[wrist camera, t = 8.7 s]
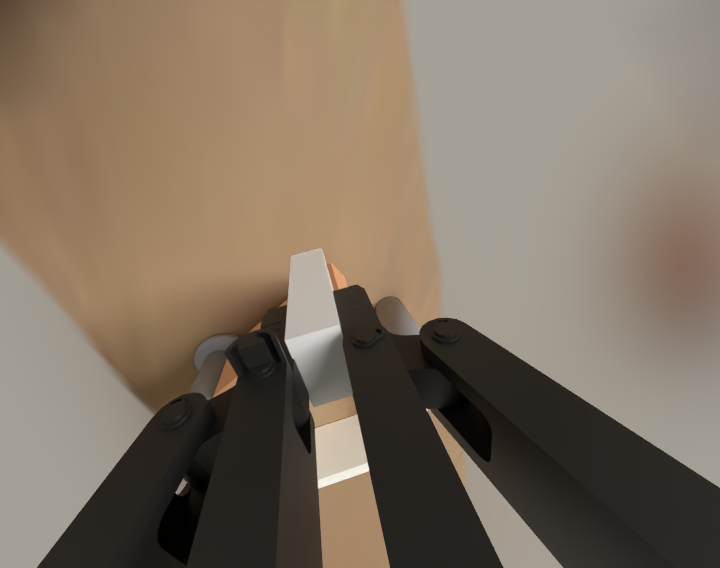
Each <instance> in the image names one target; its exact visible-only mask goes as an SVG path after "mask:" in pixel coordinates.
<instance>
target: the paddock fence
mask: <svg viewBox="0 0 720 568" xmlns="http://www.w3.org/2000/svg"><path fill="white" fill-rule="evenodd" d="M376 315H377V317H378V319H379V321H380V323H381V325H382V326H383V327H385V328H386V329H387V331H388V332H390V333H393V334H397V335H419V331H420V328H419V326H418V325H417V323H416V322H415V321H414V319H413V318H412V316H411V315H410V313H409V312H408V311H407V309H406V308H405V306H404V305H403V304H402V302H401V301H400V300H399V299H398V298H396V297H393V296H390V297H386V298H383V299H382V300H381V301H380V302H379V303H378V304H377V306H376ZM238 338H239V336H236V335H232V334H217V335H214V336H211V337H209V338H207V339H205V340H204V341H203V342H202V343H201V344H200V345H199V347H198V349H197V351H196V352H195V355H194V364H195V367H196V369H197V370H198V372H199V370H200V368H201V366H202V364H203V362H204V360H205V358H206V357H207V356H208V355H209V354H210V353H212V352H214V351H218V350H227V348H228V346H229V345H231V344H232V343H233V342H234V341H235V340H236V339H238ZM426 410H427V409H426ZM427 412H428V410H427ZM315 443H316V461H317V478H318V488H321V487H324V486H327V485H330V484H333V483H336V482H339V481H342V480H344V479H347V478H350V477H353V476H356V475H359V474H362V473H365V472H368V471H369V466H368V462H367V457H366V452H365V448H364V443H363V438H362V434H361V429H360V425H359V420H358V415H354V416H351V417H348V418H345V419H342V420H339V421H335V422H332V423H329V424H326V425H323V426H320V427H317V428H315Z"/></svg>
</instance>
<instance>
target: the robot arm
mask: <svg viewBox="0 0 720 568" xmlns="http://www.w3.org/2000/svg"><path fill="white" fill-rule="evenodd" d="M224 354H225V356H226V357H227V359H228V361H229V362H230V364H231V366H232V368H233V369H234V371H235V373H236V374H237V376H238V378H237V381H236V385H235V386H233V387H232V388H230V389H228V390H227V391H225V392H223V393H221V394H219V395H217V396H215V397H214V398H212V399H210V400H207V399H206V397H205V396H204V395H202V394H201V393H195V392H192V393H188V394H185V395H182V396H180V397H178V398H176V399H174V400H172V401H171V402H169V403H168V404H167V405H165V406H164V407H163V408H161V409H160V410H159V411H158V412H157V413H156V415H155V416H154V417H153V418H152V419H151V420H150V422H149V423H148V424H147V425H146V427H145V428H144V429H143V431H142V432H141V433H140V434H139V436H138V437H137V438H136V440H135V441H134V442H133V444H132V445H131V446H130V447H129V449H128V450H127V451H126V453H125V454H124V455H123V457H122V458H121V459H120V460H119V462H118V463H117V464H116V466H115V467H114V468H113V470H112V471H111V472H110V473H109V475H108V476H107V477H106V479H105V480H104V481H103V483H102V484H101V485H100V487H99V488H98V489H97V490H96V492H95V493H94V494H93V496H92V497H91V498H90V500H89V501H88V502H87V503H86V505H85V506H84V507H83V508H82V510H81V511H80V512H79V514H78V515H77V516H76V518H75V519H74V520H73V522H72V523H71V524H70V525H69V527H68V528H67V529H66V531H65V532H64V533H63V534H62V536H61V537H60V538H59V540H58V541H57V542H56V544H55V545H54V546H53V547H52V549H51V550H50V551H49V553H48V554H47V555H46V557H45V558H44V559H43V560H42V562H41V563H40V564H39V566H38V567H37V568H323V565H322V548H321V530H320V513H319V495H318V478H317V461H316V443H315V426H314V420H313V417H312V415H311V412H310V410H309V398H310V401H311V403H312V405H313V407H315V406H319V405H322V404H325V403H328V402H331V401H335V400H338V399H341V398H344V397H347V396H351V395H353V397H354V401H355V406H356V411H357V415H358V420H359V425H360V429H361V434H362V438H363V443H364V448H365V452H366V457H367V462H368V466H369V471H370V476H371V480H372V485H373V490H374V494H375V499H376V503H377V508H378V513H379V517H380V522H381V527H382V531H383V536H384V541H385V545H386V550H387V555H388V559H389V564H390V568H503V566H502V564H501V562H500V560H499V558H498V556H497V554H496V552H495V549H494V547H493V546H492V544H491V541H490V539H489V537H488V535H487V533H486V531H485V529H484V527H483V525H482V523H481V521H480V519H479V517H478V515H477V512H476V510H475V509H474V506H473V504H472V502H471V500H470V498H469V496H468V494H467V492H466V490H465V488H464V486H463V484H462V482H461V480H460V478H459V475H458V473H457V471H456V469H455V467H454V465H453V463H452V461H451V459H450V457H449V455H448V453H447V451H446V449H445V447H444V445H443V443H442V440H441V438H440V436H439V434H438V432H437V430H436V428H435V426H434V424H433V422H432V420H431V418H430V416H429V414H428V412H427V410H426V409H430V410H431V411H432V413H433V414H434V415H435V416H436V417H437V419H438V420H439V421H440V422H441V423H442V425H443V426H444V427H445V428H446V429H447V430H448V432H449V433H450V434H451V435H452V436H453V438H454V439H455V440H456V441H457V442H458V443H459V445H460V446H461V447H462V448H463V449H464V451H465V452H466V453H467V454H468V455H469V456H470V458H471V459H472V460H473V461H474V462H475V464H477V466H478V467H479V468H480V469H481V471H482V472H483V473H484V474H485V475H486V477H487V478H488V479H489V480H490V481H491V482H492V484H493V485H494V486H495V487H496V488H497V490H498V491H499V492H500V493H501V494H502V495H503V497H504V498H505V499H506V500H507V501H508V503H509V504H510V505H511V506H512V507H513V508H514V509H515V510H516V512H517V513H518V514H519V515H520V517H521V518H522V519H523V520H524V521H525V523H526V524H527V525H528V526H529V527H530V529H531V530H532V531H533V532H534V533H535V534H536V536H537V537H538V538H539V539H540V540H541V542H542V543H543V544H544V545H545V546H546V547H547V549H548V550H549V551H550V552H551V553H552V555H553V556H554V557H555V558H556V559H557V560H558V562H559V563H560V564H561V565H562V566H563V568H720V488H719V487H718V486H716V485H714V484H713V483H711V482H710V481H708V480H707V479H705V478H704V477H702V476H700V475H699V474H697V473H696V472H694V471H693V470H691V469H690V468H688V467H686V466H685V465H684V464H682V463H680V462H679V461H677V460H676V459H674V458H673V457H671V456H670V455H668V454H667V453H665V452H663V451H662V450H660V449H659V448H657V447H656V446H654V445H653V444H651V443H650V442H648V441H646V440H645V439H643V438H642V437H640V436H639V435H637V434H636V433H634V432H633V431H631V430H630V429H628V428H626V427H625V426H623V425H622V424H620V423H619V422H617V421H616V420H614V419H613V418H611V417H609V416H608V415H606V414H605V413H603V412H602V411H600V410H599V409H597V408H596V407H594V406H592V405H591V404H589V403H588V402H586V401H584V400H583V399H581V398H580V397H578V396H577V395H575V394H574V393H572V392H571V391H569V390H568V389H566V388H565V387H563V386H562V385H560V384H558V383H557V382H555V381H554V380H552V379H551V378H549V377H548V376H546V375H545V374H543V373H541V372H540V371H538V370H537V369H535V368H534V367H532V366H531V365H529V364H528V363H526V362H524V361H523V360H521V359H520V358H518V357H517V356H515V355H514V354H512V353H510V352H509V351H508V350H506V349H504V348H503V347H501V346H500V345H498V344H497V343H495V342H494V341H492V340H491V339H489V338H487V337H486V336H484V335H483V334H481V333H479V332H478V331H476V330H475V329H473V328H472V327H470V326H469V325H467V324H466V323H464V322H462V321H459V320H457V319H452V318H437V319H434V320H431V321H429V322H427V323H426V324H424V325H423V326H422V328H421V329H420V331H419V335H397V334H393V333H390V332H388V331H387V329H386V328H385V327H383V326H382V325H381V323H380V321H379V319H378V317H377V315H376V312H375V310H374V308H373V306H372V304H371V302H370V300H369V298H368V295H367V293H366V291H365V289H364V288H362V287H360V286H358V285H353V286H350V287H346V288H342V289H339V290H335V291H334V289H333V286H332V282H331V279H330V275H329V272H328V268H327V265H326V261H325V258H324V254H323V251H322V248H319V249H315V250H311V251H307V252H304V253H300V254H296V255H292V256H291V265H290V278H289V291H288V303H287V305H284V306H281V307H277V308H273V309H270V310H269V311H268V312H267V313H266V314H265V316H264V317H263V318H262V322H261V329H260V330H254V331H252V332H249V333H246V334H244V335H243V336H241V337H239V338H238V339H236V340H235V341H234V342H233V343H232V344H231V345H229V346H228V348H227V350H226V351H225V353H224ZM182 479H184V480H185V481H186V482H187V484H186V486H185V487H184V489H183V490H182V491H181V493H180V494H178V495H177V494H176V493H175V492H176V490H177V489H178V486H179V485H180V483H181V481H182Z"/></svg>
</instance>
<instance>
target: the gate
mask: <svg viewBox="0 0 720 568" xmlns="http://www.w3.org/2000/svg"><path fill="white" fill-rule="evenodd" d="M327 268H328V272H329V275H330V279H331V282H332V286H333V289H334V291H335V290H339V289H342V288H346V287H348V286H347V283H346V280H345V278H344V276H343V275H342V274H341V273H340V272H339V271H338V270H337V269H336V268H335V266H334V265H333V264H332V263H331V262H330V263H329V264H328V265H327ZM287 303H288V299H287V300H286V301H285V302H283V303H282V304H281V305H280V306H279V307H281V306H284V305H287ZM261 322H262V321H261ZM261 322H260V323H259V324H258V325H256V326H255V327H254V328H253V329H252V330H251V331H249V332H252V331H254V330H260V329H261ZM249 332H248V333H249ZM225 351H226V350H218V351H214V352H212V353H210V354H209V355H208V356H207V357H206V358H205V360H204V362H203V364H202V366H201V368H200V370H199V372H198V374H197V377H196V379H195V381H194V383H193V385H192V387H191V389H190V391H189V393H192V392H195V393H201V394H202V395H204V396H205V397H206V399H207V400H210V399H212V398H214V397H215V396H217V395H219V394H221V393H223V392H225V391H227V390H228V389H230V388H232V387H233V386H235V385H236V381H237V378H238V376H237V374H236V373H235V371H234V369H233V368H232V366H231V364H230V362H229V361H228V359H227V357H226V356H225V354H224V353H225Z"/></svg>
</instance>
